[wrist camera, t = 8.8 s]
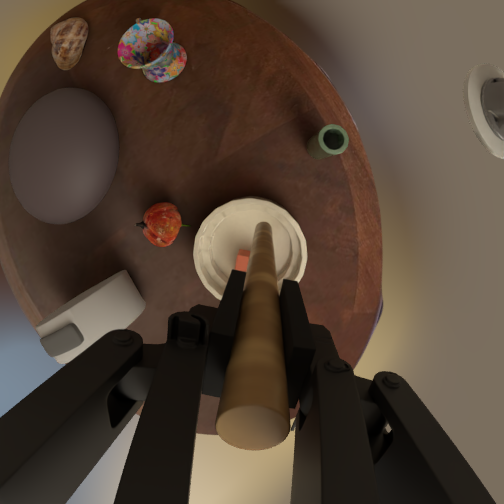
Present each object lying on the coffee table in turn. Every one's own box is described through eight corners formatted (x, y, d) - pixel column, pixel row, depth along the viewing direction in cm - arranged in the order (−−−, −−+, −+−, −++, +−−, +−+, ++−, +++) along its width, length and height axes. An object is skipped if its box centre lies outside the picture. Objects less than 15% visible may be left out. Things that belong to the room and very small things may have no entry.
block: (262, 252, 52) (262, 259, 48) (258, 274, 53) (257, 282, 49) (239, 248, 52) (237, 254, 48) (235, 270, 53) (233, 278, 49)
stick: (273, 222, 36) (299, 409, 7) (270, 239, 36) (280, 454, 7) (256, 219, 36) (219, 398, 7) (253, 236, 36) (211, 444, 7)
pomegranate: (190, 200, 53) (137, 191, 47) (205, 216, 48) (146, 207, 42) (178, 236, 55) (128, 231, 49) (191, 256, 50) (135, 251, 44)
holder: (331, 139, 47) (350, 128, 35) (327, 161, 48) (345, 157, 36) (308, 133, 47) (321, 121, 35) (304, 156, 48) (316, 150, 36)
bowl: (311, 206, 50) (317, 210, 44) (290, 302, 54) (293, 316, 48) (209, 188, 50) (202, 189, 44) (196, 284, 54) (188, 297, 49)
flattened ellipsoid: (87, 243, 54) (41, 263, 39) (24, 167, 50) (-23, 170, 36) (161, 145, 48) (123, 136, 34) (84, 74, 45) (41, 55, 31)
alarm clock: (86, 328, 59) (38, 375, 39) (69, 299, 57) (15, 340, 38) (157, 295, 55) (111, 349, 36) (137, 261, 54) (82, 302, 35)
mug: (197, 71, 45) (181, 49, 34) (151, 94, 46) (125, 78, 36) (176, 25, 42) (158, -1, 32) (133, 47, 44) (108, 27, 33)
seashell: (47, 50, 42) (42, 22, 33) (82, 33, 46) (81, 4, 36) (60, 77, 44) (54, 48, 35) (97, 58, 47) (96, 28, 38)
